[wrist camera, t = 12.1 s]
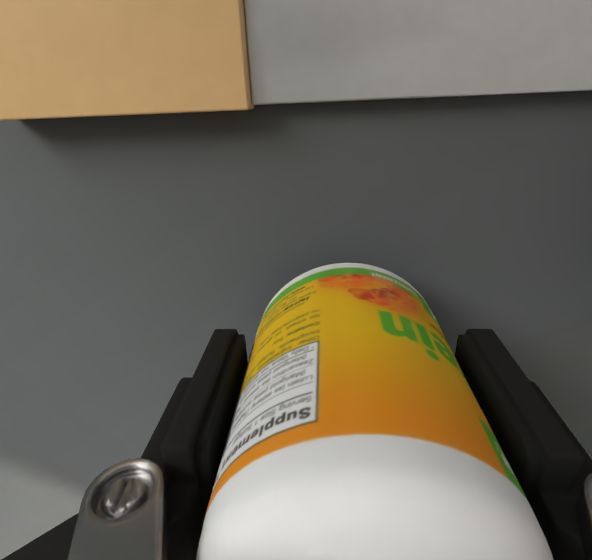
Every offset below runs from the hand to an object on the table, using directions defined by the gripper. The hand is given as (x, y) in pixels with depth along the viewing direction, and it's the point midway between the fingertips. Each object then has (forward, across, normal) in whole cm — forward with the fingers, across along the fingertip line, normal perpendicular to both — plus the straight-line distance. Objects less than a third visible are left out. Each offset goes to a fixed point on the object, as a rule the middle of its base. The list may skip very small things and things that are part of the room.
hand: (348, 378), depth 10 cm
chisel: (+3, +1, -8) cm, 9 cm away
